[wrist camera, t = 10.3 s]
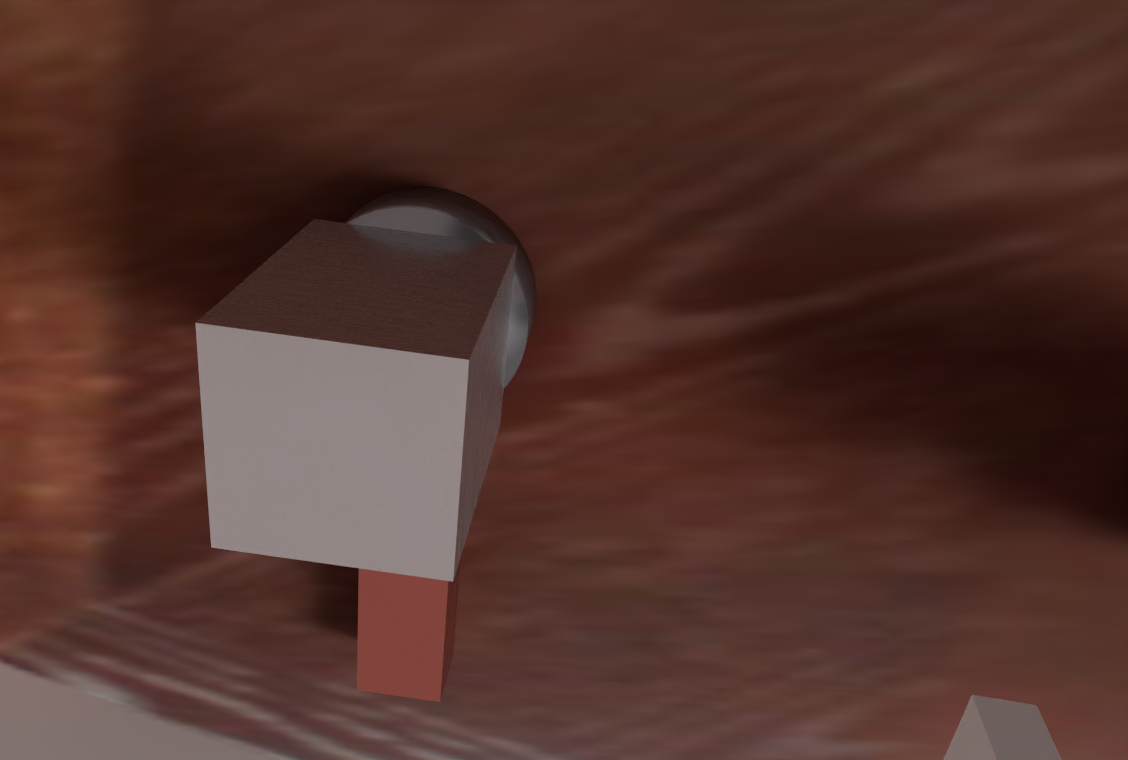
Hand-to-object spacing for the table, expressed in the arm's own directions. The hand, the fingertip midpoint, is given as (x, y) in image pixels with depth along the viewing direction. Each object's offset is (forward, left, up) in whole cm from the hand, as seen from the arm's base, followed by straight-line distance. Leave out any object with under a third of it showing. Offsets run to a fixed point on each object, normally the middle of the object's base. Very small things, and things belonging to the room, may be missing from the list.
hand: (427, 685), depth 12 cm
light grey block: (+3, -4, -17) cm, 18 cm away
